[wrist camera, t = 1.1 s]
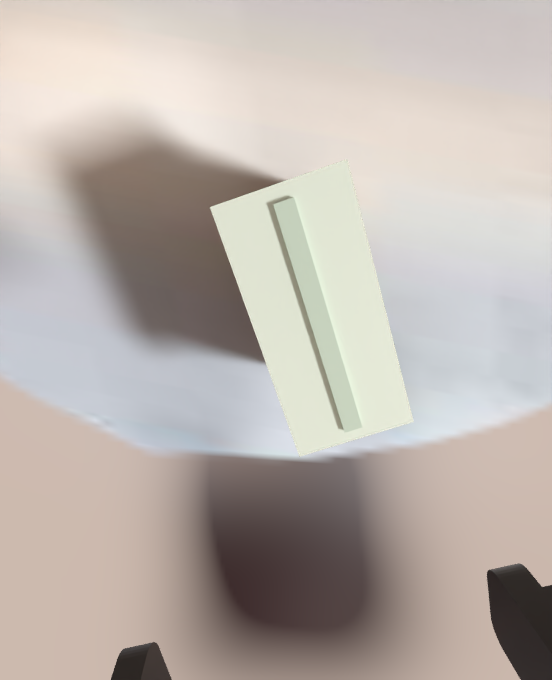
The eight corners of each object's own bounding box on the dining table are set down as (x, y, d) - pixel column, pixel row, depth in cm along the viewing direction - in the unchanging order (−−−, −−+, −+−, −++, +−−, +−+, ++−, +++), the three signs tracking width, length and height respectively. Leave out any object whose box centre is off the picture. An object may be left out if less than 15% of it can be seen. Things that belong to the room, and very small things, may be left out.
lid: (216, 208, 21) (209, 207, 18) (336, 166, 21) (348, 158, 18) (295, 431, 25) (300, 459, 22) (397, 399, 25) (415, 424, 22)
